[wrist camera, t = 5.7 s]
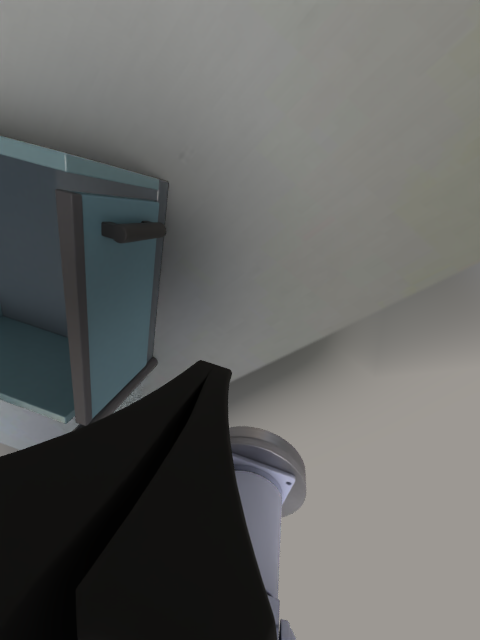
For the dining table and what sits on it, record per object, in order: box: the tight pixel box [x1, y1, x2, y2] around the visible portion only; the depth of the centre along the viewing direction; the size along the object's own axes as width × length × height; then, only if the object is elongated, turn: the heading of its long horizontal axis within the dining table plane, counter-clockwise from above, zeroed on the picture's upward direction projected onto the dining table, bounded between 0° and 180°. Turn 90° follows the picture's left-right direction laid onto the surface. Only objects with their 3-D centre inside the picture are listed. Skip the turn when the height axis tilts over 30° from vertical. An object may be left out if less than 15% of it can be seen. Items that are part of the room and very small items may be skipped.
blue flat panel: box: [55, 189, 166, 426], centre depth 14 cm, size 12×2×6 cm, turn 166°
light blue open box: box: [0, 136, 169, 431], centre depth 15 cm, size 14×14×8 cm
